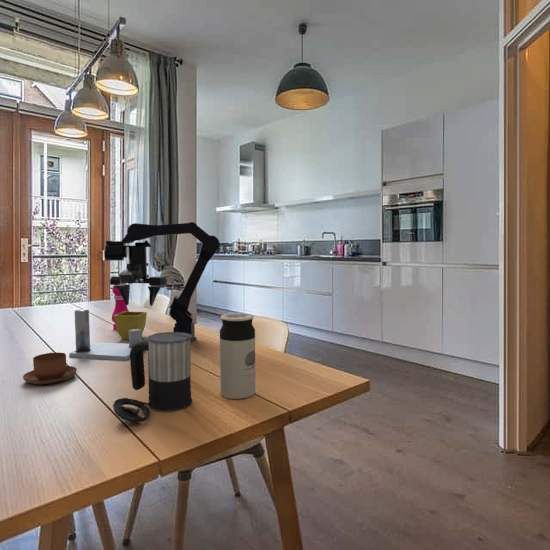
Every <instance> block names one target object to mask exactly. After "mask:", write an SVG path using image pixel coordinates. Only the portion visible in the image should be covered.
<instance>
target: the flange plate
mask: <svg viewBox="0 0 550 550" xmlns="http://www.w3.org/2000/svg"><path fill="white" fill-rule="evenodd" d="M141 341H143V332H142V330H141V329H133V330H129V339H128V343H121V342H119V343H118V342H100V341H99V342H98V341H97V342H95V343H92V344H90V350H89V351H85V352H77V351H76V350H74V351H71V352H69V355H68V356H69V357H70V358H81V359H82V358H83V359H96V360H111V361H112V360H114V361H127V360H130V351H131V349H132V347H133V346H134V345H135V344H137V343H138V342H141ZM145 351H146V350H144V352H145Z"/></svg>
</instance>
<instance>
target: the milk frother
mask: <svg viewBox="0 0 550 550" xmlns="http://www.w3.org/2000/svg"><path fill="white" fill-rule="evenodd" d="M191 337H192V335H191V334H188V333H182V332H174V331H167V332H166V331H165V332H164V331H163V332H157V333H154V334H150V335H148V336H147V337H146V340H145V339H144V340H142V341H141V342H138V343H137V344H135V345H134V346H133V347H132V349H131V351H130V359H129V362H130V365H129V366H130V373H131V374H130V375H131V384H132V389H134V390H135V391H138V390H141V389H143V388H144V387H145V385H146V375H145V373H146V372H145V359H144V358H145V357H144V356H145V355H144V354H145V351H144V350H146V351H147V352H148V353H147V355H148V360H147V361H148V401H149V402H145V401H141V400H138V399H134V398H128V397H122V398H118V399H116V400H115V401H114V402H113V405H112V408H113V410H114V413H115V414H116V415H117V417H119V418H120V419H122V420H124V421H127V422H130V423H131V424H132V423H142V422H144V421H146V420H149V418H150V416H151V411H150V409H151V410H153V411H157V412H175V411H180V410H184V409H186V408H188V407H189V406H191V405H192V403H193V398H192V388H191V387H192V385H191V384H192V383H191V369H192V368H191V365H192V364H191V342H190V339H191ZM129 406H131V407H129ZM132 406H134V407H132ZM147 406H148V407H147ZM135 407H136V408H137V409H136V408H135ZM140 410H141V411H142V412H143V414H142V413H140Z"/></svg>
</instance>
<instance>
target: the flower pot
mask: <svg viewBox="0 0 550 550" xmlns="http://www.w3.org/2000/svg"><path fill="white" fill-rule="evenodd" d="M147 314H148V312H147V311H129V312H122V313H119V314H116V315H114V318H115V323H114V324H115V325H116V329H117V330H116V332H117V333H118V334H117V335H119V337H120V339H125V340H126V339H128V340H129V330H133V329H141V330H142V333H144V330H145V328H146V324H147V323H146V322H147Z"/></svg>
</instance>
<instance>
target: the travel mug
mask: <svg viewBox="0 0 550 550" xmlns="http://www.w3.org/2000/svg"><path fill="white" fill-rule="evenodd" d="M220 319H221V321H222V325H221V326H220V327H221V328H220V329H219V363H220V365H219V366H220V367H219V368H220V369H219V371H220V372H219V376H220V379H219V381H220V384H219V385H220V395H221V396H222V397H225V399H229V398H230V399H229V400H243V398H244V399H248V398H250V397H252V396H253V395H255V394H256V391H257V390H256V329H255V327H254V325H253V320H254V315H253V314H251V313H245V312H243V313H242V312H241V313H240V312H238V313H236V312H235V313H234V312H233V313H225V314H222V315H221V316H220Z"/></svg>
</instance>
